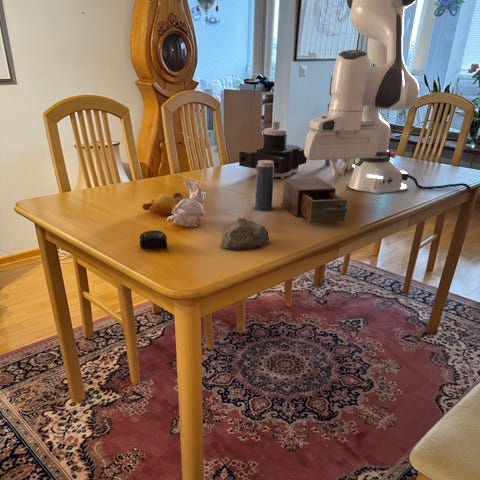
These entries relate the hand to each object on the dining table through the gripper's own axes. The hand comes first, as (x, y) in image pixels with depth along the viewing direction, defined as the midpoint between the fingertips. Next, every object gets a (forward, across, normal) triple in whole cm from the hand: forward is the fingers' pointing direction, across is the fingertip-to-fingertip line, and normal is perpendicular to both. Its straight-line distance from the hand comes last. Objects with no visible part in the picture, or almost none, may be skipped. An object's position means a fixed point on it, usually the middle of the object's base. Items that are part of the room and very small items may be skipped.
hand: (337, 175), depth 127 cm
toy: (+15, +46, -25) cm, 55 cm away
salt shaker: (+15, +14, -23) cm, 31 cm away
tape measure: (+15, +52, +7) cm, 55 cm away
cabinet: (+15, 0, -20) cm, 25 cm away
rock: (+15, +28, +8) cm, 33 cm away
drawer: (+15, 0, -7) cm, 16 cm away
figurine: (+15, +41, -11) cm, 46 cm away
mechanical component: (+16, -8, -72) cm, 74 cm away
